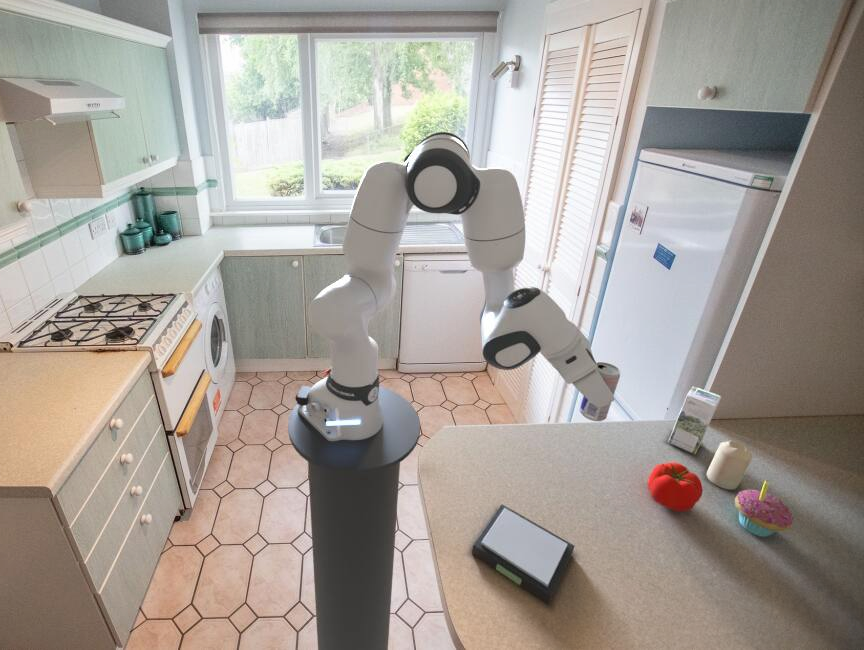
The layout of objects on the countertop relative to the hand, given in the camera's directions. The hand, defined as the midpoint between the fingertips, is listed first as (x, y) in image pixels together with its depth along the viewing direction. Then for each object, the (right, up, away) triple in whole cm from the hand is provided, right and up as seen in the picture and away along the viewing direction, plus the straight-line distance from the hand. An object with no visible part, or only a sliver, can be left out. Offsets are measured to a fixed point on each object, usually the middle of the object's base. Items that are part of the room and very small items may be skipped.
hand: (603, 390), depth 97 cm
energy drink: (-1, -6, +3) cm, 7 cm away
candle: (+27, -20, +2) cm, 34 cm away
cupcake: (+25, -25, -8) cm, 37 cm away
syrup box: (+26, -15, +12) cm, 33 cm away
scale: (-23, -28, -14) cm, 38 cm away
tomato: (+12, -22, -3) cm, 26 cm away
